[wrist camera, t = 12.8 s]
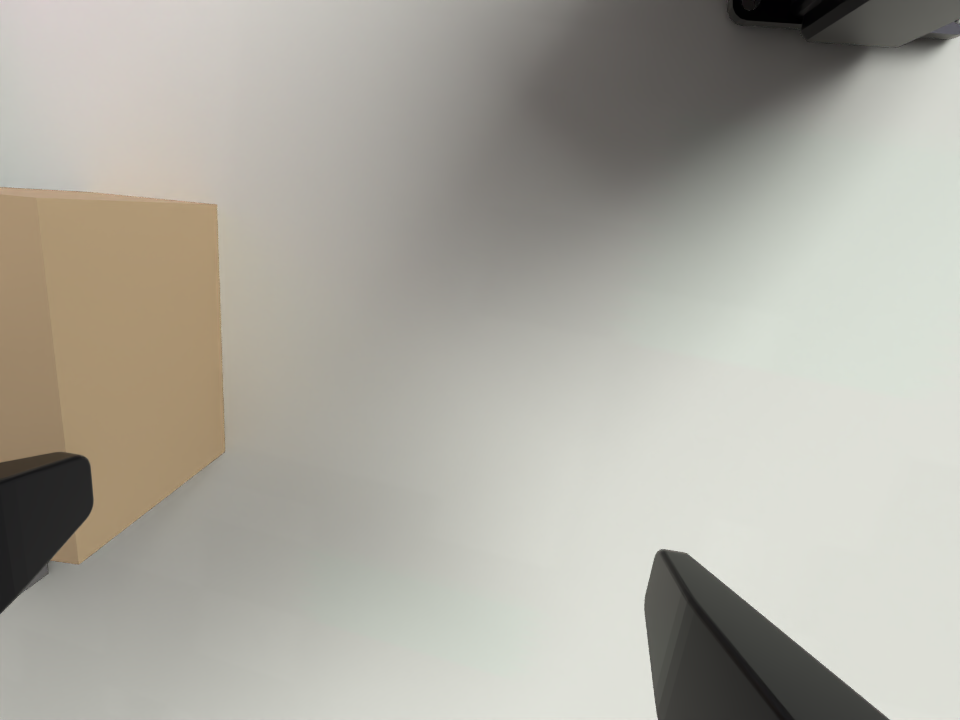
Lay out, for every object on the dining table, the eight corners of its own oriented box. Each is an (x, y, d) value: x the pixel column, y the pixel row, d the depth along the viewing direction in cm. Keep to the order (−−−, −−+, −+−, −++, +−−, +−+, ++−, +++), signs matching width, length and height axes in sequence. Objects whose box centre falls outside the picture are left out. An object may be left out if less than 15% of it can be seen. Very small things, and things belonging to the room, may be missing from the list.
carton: (218, 204, 18) (36, 198, 12) (226, 450, 21) (78, 564, 14) (82, 191, 19) (-173, 177, 12) (105, 435, 21) (-96, 539, 14)
